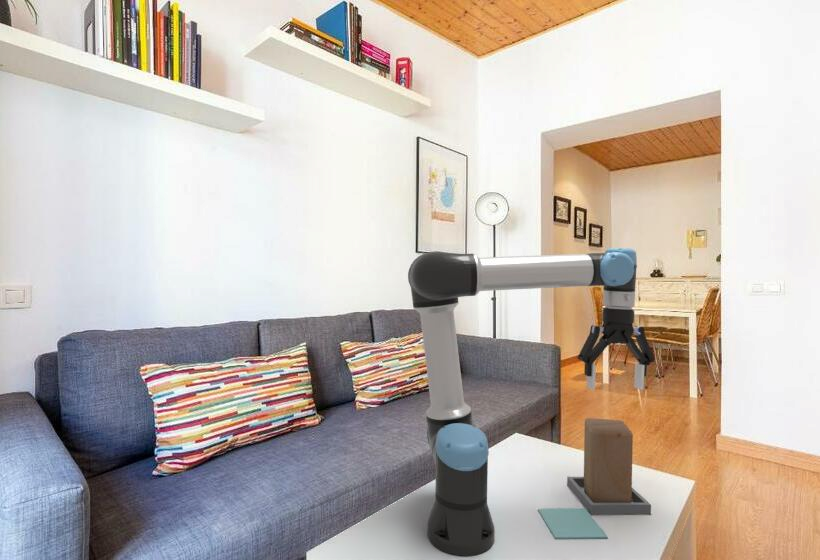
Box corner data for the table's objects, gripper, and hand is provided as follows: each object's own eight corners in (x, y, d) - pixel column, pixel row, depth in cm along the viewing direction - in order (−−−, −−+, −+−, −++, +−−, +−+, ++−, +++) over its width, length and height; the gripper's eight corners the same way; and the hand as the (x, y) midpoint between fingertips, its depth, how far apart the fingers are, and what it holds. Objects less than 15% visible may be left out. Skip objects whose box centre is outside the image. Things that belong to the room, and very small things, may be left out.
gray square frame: (591, 515, 108) (591, 505, 108) (567, 485, 123) (567, 476, 123) (650, 514, 109) (650, 504, 109) (619, 485, 124) (619, 476, 124)
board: (555, 539, 98) (555, 537, 98) (537, 510, 110) (537, 508, 110) (607, 538, 99) (607, 536, 99) (584, 509, 111) (584, 508, 111)
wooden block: (632, 511, 110) (634, 432, 110) (590, 506, 112) (591, 429, 112) (621, 492, 120) (623, 419, 120) (582, 488, 122) (584, 416, 122)
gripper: (581, 307, 109) (577, 392, 110) (672, 310, 113) (668, 392, 113) (566, 305, 117) (563, 384, 117) (652, 307, 120) (648, 384, 121)
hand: (614, 388), depth 115 cm, fingers open, 13 cm apart
